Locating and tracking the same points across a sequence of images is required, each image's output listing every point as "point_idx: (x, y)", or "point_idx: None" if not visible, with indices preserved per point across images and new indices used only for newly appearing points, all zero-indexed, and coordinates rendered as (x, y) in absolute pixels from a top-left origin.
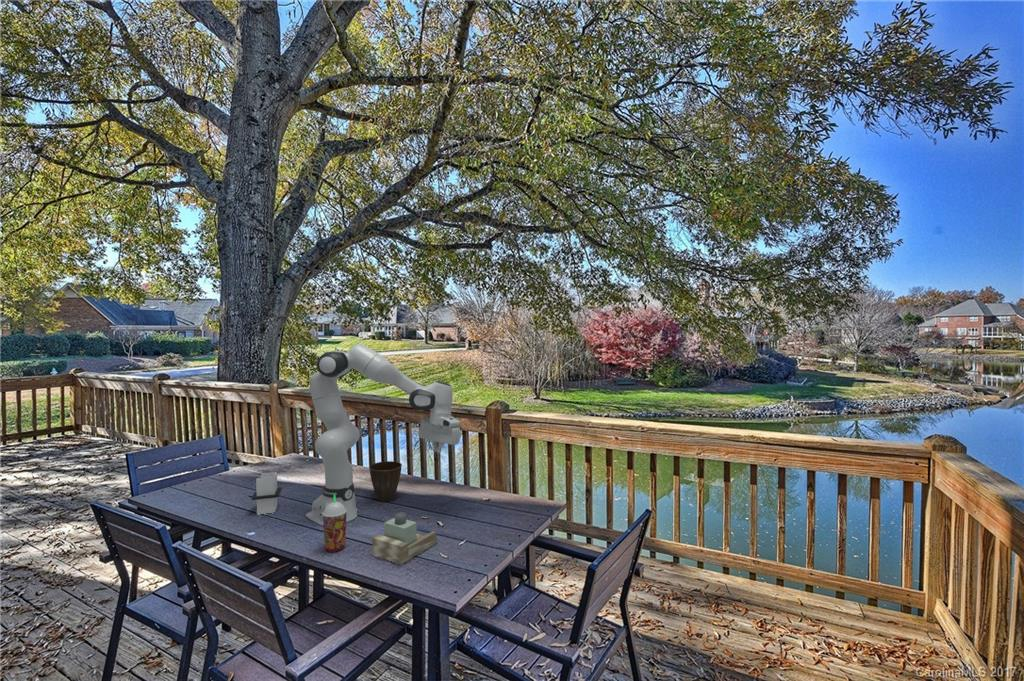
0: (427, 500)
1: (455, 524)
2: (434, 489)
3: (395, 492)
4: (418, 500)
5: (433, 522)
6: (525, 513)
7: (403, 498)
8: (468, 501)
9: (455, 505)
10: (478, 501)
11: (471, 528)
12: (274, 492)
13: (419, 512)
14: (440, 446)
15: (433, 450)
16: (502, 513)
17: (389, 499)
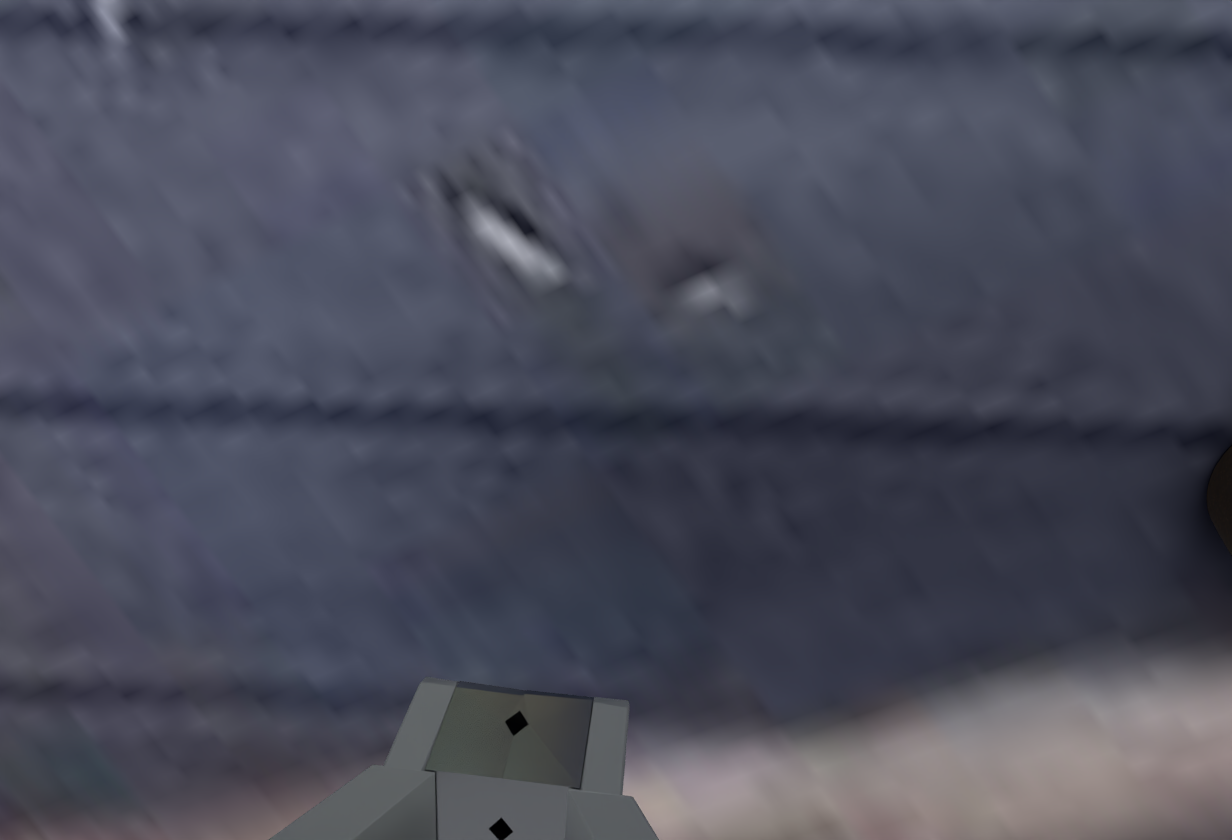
0: (891, 593)
1: (381, 273)
2: (962, 796)
3: (1228, 538)
4: (966, 565)
5: (574, 228)
6: (52, 663)
7: (1121, 552)
8: None
9: (613, 594)
10: None
11: (217, 261)
12: None
13: (813, 357)
14: (283, 836)
15: (624, 713)
16: (194, 601)
17: (1227, 460)
